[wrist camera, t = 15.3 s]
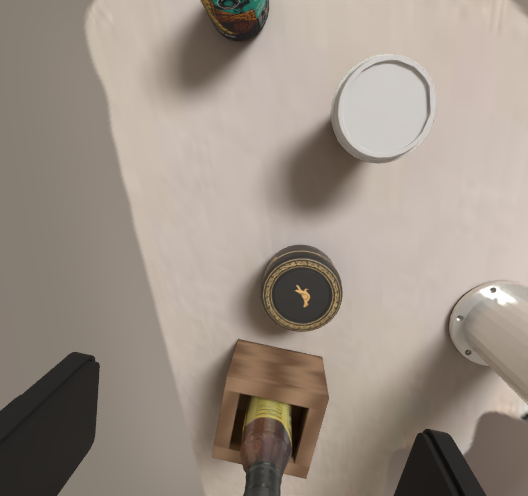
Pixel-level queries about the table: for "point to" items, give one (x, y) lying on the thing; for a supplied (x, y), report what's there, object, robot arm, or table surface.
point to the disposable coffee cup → (383, 108)
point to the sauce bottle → (265, 445)
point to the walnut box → (274, 388)
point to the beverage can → (237, 17)
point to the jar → (301, 288)
